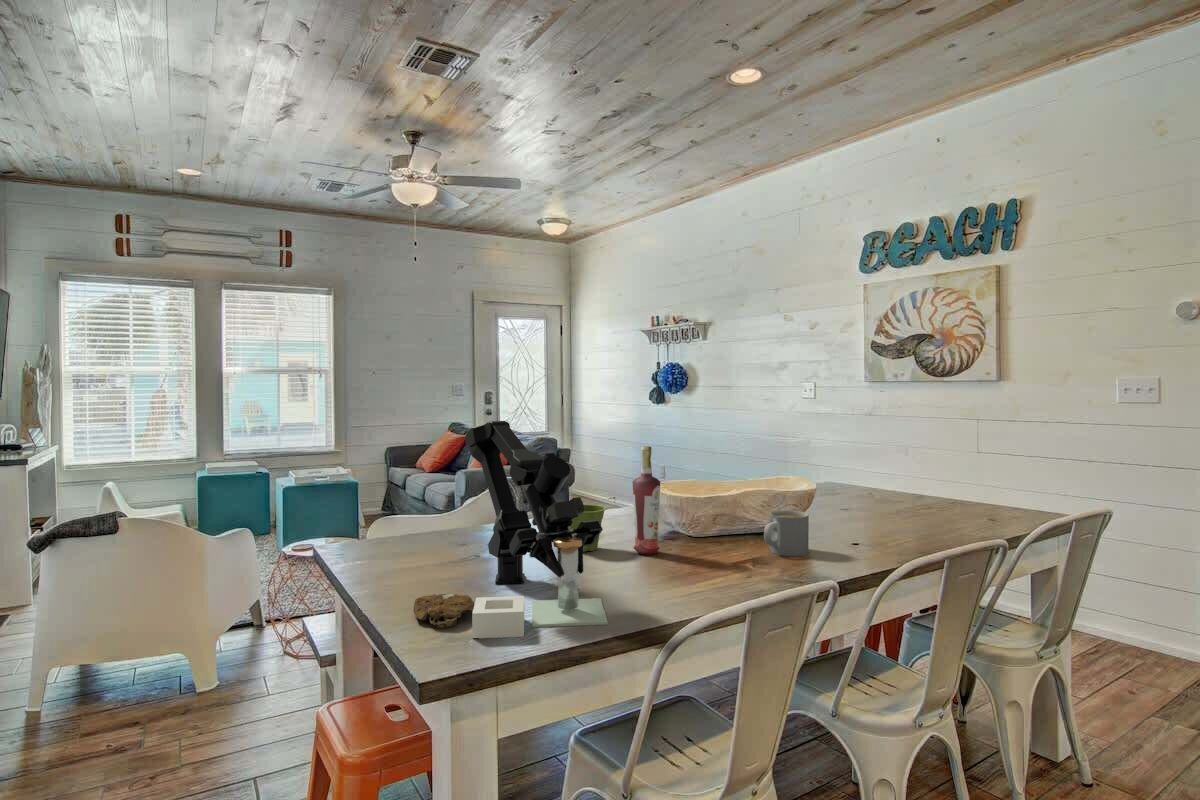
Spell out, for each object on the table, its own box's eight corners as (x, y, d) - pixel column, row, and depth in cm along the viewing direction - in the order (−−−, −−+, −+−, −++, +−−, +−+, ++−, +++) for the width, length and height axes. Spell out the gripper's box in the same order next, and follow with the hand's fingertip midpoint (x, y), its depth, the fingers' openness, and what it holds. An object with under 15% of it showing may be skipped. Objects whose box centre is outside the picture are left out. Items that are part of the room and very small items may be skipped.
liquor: (650, 557, 177) (650, 448, 176) (627, 553, 182) (626, 447, 181) (665, 552, 183) (665, 446, 182) (642, 548, 187) (642, 445, 187)
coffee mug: (793, 545, 190) (793, 509, 190) (816, 554, 180) (816, 515, 180) (751, 549, 185) (751, 512, 185) (772, 558, 176) (772, 519, 176)
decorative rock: (485, 627, 130) (462, 607, 143) (486, 605, 130) (463, 587, 143) (424, 634, 124) (406, 612, 138) (424, 611, 125) (407, 592, 138)
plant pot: (606, 554, 181) (605, 511, 180) (560, 554, 181) (560, 511, 181) (606, 544, 193) (606, 503, 192) (564, 544, 193) (563, 503, 192)
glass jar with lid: (548, 604, 136) (548, 539, 136) (572, 599, 139) (572, 535, 139) (563, 612, 131) (562, 544, 131) (587, 607, 135) (587, 540, 134)
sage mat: (532, 603, 142) (532, 600, 142) (600, 600, 143) (600, 598, 143) (532, 627, 128) (532, 624, 128) (607, 624, 129) (607, 621, 129)
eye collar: (476, 621, 131) (476, 597, 131) (524, 619, 132) (524, 595, 132) (472, 638, 122) (472, 613, 122) (523, 636, 123) (523, 611, 123)
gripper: (515, 488, 133) (541, 558, 124) (597, 480, 143) (627, 544, 134) (498, 522, 140) (522, 590, 131) (578, 512, 150) (606, 575, 141)
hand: (571, 574), depth 134 cm, fingers closed on glass jar with lid, 4 cm apart
